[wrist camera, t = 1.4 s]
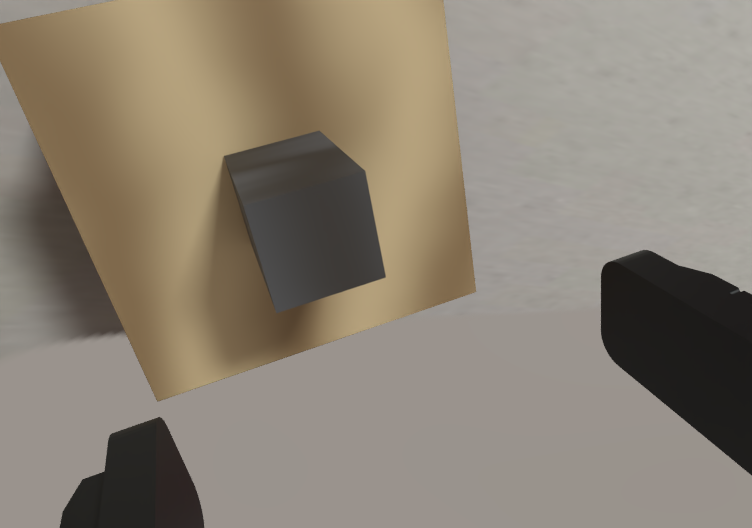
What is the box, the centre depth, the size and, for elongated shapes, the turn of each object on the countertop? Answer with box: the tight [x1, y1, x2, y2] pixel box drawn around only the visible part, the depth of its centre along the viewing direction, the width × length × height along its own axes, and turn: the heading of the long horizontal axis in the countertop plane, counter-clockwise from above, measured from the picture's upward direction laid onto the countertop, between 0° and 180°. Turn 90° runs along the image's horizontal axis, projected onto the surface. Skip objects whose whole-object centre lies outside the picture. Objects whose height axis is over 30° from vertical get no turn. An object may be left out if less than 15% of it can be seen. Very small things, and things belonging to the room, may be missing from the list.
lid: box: [0, 0, 476, 401], centre depth 18 cm, size 13×13×7 cm
